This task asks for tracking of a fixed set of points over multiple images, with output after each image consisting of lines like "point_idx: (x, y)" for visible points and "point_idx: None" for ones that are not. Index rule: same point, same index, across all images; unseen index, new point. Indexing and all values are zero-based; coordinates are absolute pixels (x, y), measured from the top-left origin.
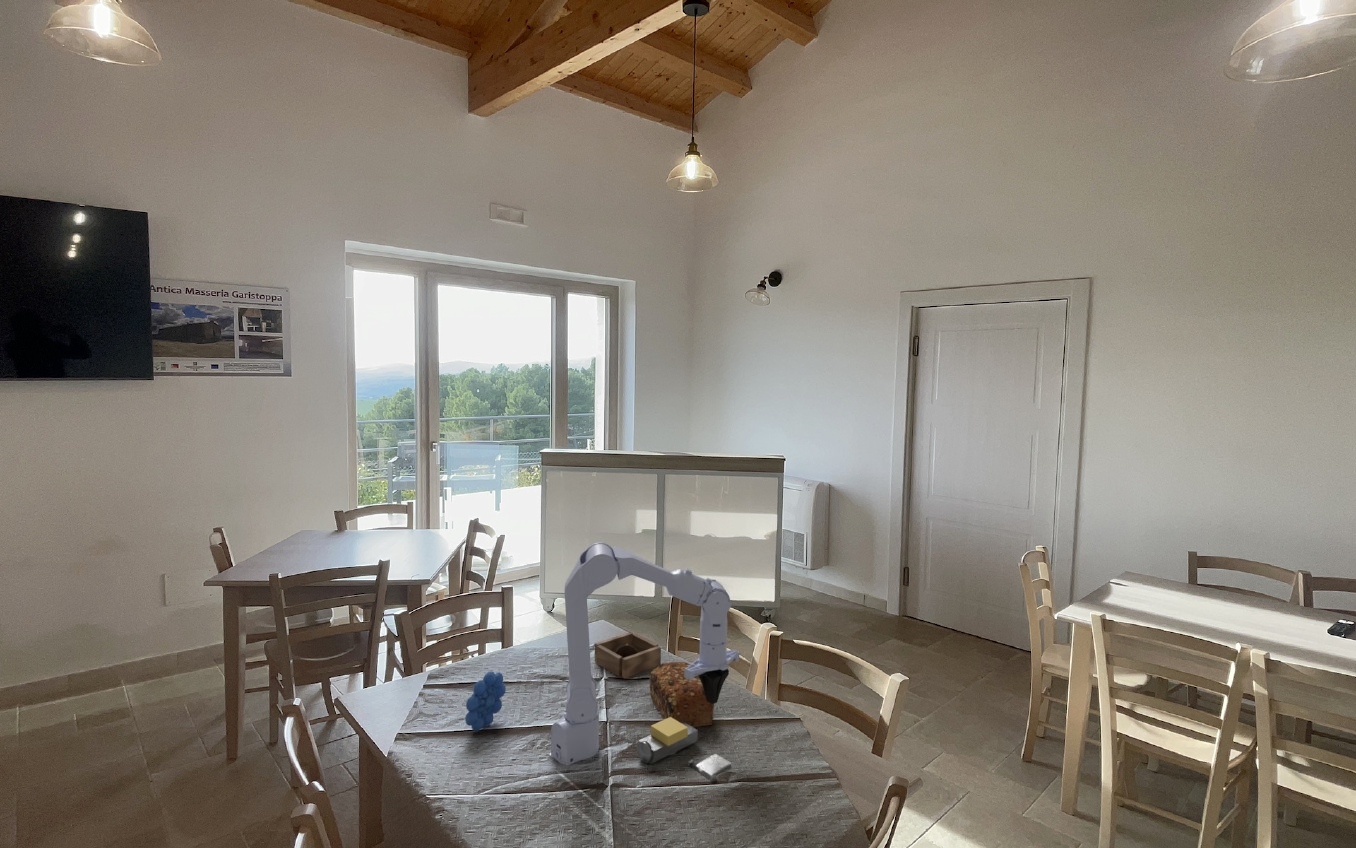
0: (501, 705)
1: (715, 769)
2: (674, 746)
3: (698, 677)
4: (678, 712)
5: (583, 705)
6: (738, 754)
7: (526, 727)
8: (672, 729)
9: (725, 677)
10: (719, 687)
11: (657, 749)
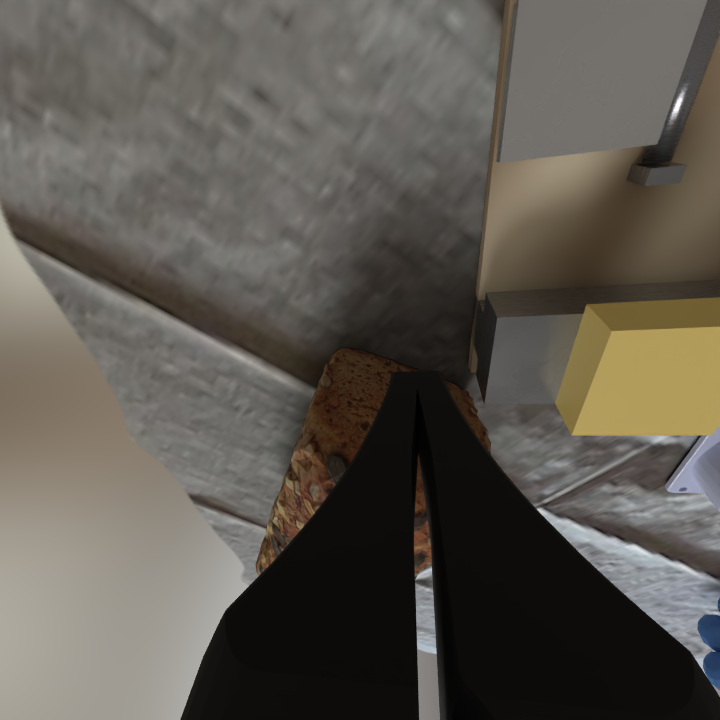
0: (716, 632)
1: (641, 8)
2: (657, 296)
3: (291, 539)
4: None
5: None
6: (354, 141)
7: (686, 563)
8: (692, 361)
9: (302, 575)
10: (395, 466)
11: None
